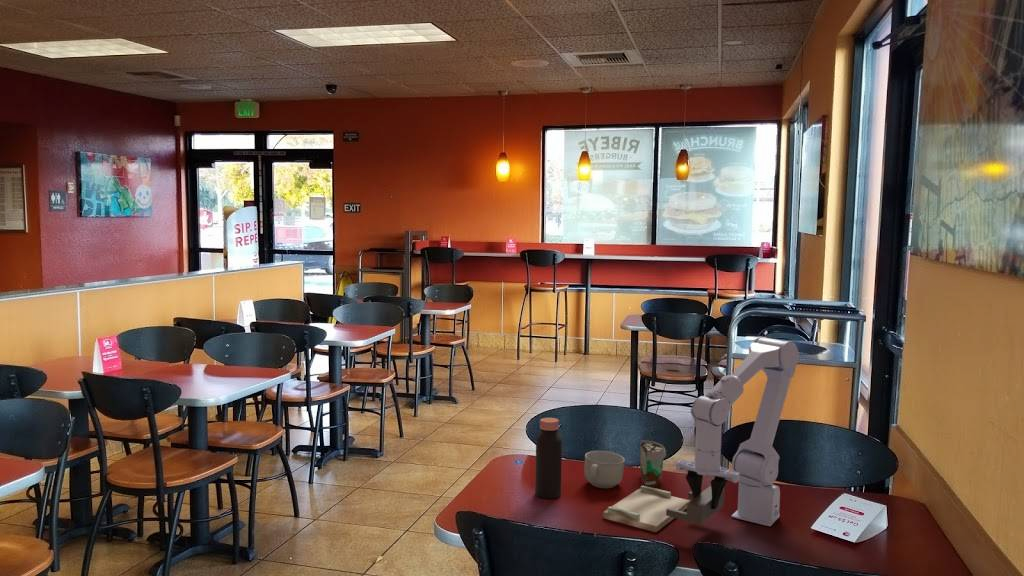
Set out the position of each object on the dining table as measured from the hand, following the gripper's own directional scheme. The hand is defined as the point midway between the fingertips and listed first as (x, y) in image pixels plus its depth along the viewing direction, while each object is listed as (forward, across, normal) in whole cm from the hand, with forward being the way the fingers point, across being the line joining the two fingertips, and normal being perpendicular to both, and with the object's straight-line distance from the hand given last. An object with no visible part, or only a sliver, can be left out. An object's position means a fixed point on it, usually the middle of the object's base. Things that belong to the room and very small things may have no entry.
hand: (705, 505), depth 178 cm
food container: (+7, -24, +24) cm, 35 cm away
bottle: (+6, -42, -2) cm, 43 cm away
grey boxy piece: (+2, -3, 0) cm, 3 cm away
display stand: (+6, -16, +3) cm, 17 cm away
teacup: (+7, -34, +12) cm, 37 cm away
